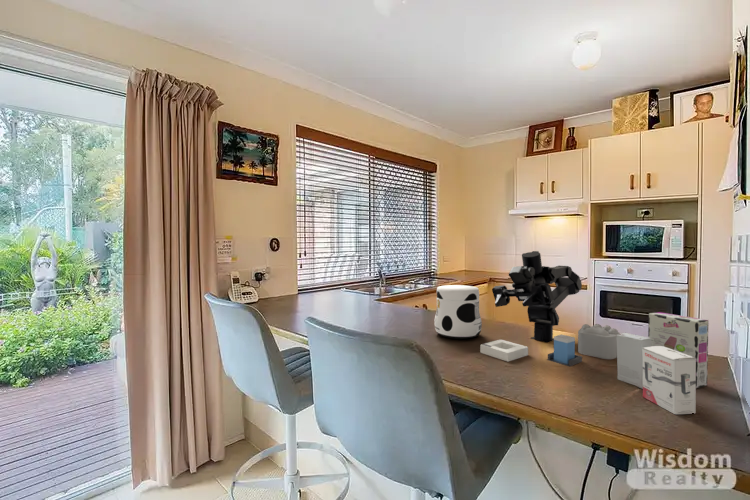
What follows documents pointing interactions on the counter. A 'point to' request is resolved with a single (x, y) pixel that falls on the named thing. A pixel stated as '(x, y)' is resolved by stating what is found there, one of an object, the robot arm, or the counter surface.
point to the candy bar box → (682, 338)
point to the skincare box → (631, 358)
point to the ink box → (669, 379)
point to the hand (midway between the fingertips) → (509, 305)
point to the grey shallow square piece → (571, 361)
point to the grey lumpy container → (598, 341)
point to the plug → (564, 348)
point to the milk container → (458, 312)
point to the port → (504, 350)
